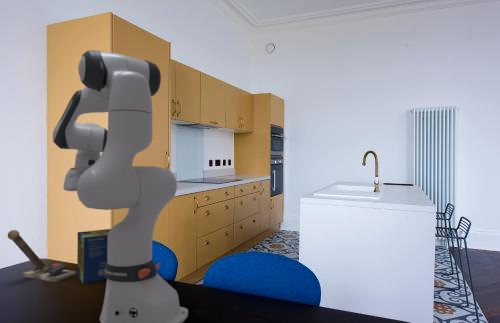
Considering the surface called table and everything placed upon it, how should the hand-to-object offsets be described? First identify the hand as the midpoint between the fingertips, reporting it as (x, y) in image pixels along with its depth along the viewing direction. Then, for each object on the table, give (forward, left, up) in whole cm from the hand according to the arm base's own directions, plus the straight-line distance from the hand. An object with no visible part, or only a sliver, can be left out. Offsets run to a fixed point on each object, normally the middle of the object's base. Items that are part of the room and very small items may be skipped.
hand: (83, 200), depth 126 cm
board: (+6, +9, -26) cm, 28 cm away
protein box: (-12, +2, -26) cm, 29 cm away
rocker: (+1, +10, -23) cm, 25 cm away
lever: (+9, +9, -24) cm, 27 cm away
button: (+5, +7, -24) cm, 26 cm away
